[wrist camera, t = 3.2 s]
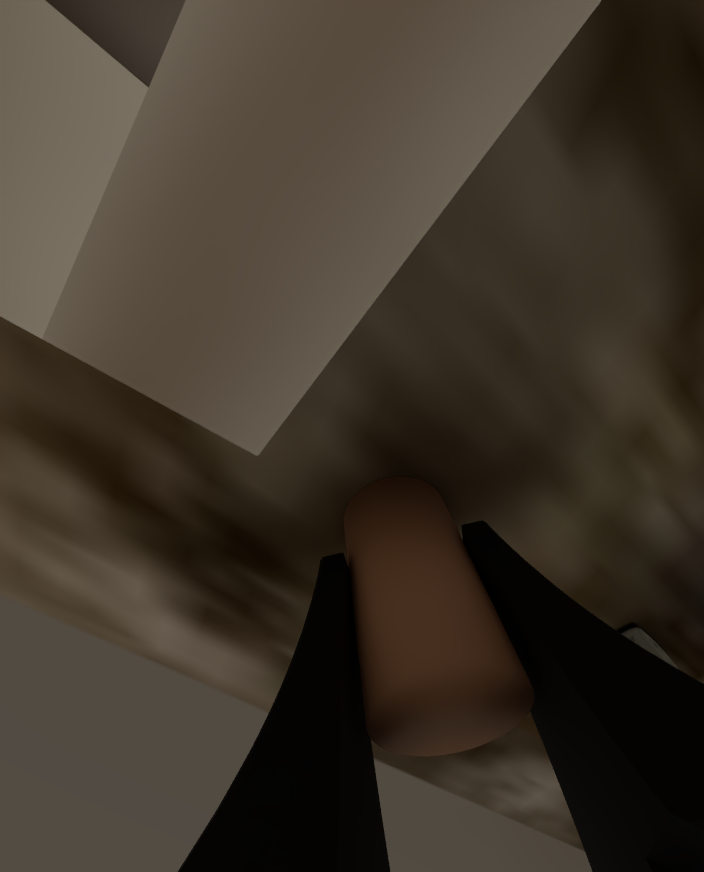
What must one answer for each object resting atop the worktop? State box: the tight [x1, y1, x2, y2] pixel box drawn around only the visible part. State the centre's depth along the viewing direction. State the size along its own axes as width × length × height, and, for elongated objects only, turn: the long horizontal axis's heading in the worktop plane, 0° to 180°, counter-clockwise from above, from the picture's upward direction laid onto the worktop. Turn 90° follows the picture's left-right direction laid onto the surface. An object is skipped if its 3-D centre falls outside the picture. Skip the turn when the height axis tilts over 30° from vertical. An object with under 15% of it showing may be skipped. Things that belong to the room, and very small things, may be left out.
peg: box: [343, 476, 535, 756], centre depth 11 cm, size 4×4×6 cm
